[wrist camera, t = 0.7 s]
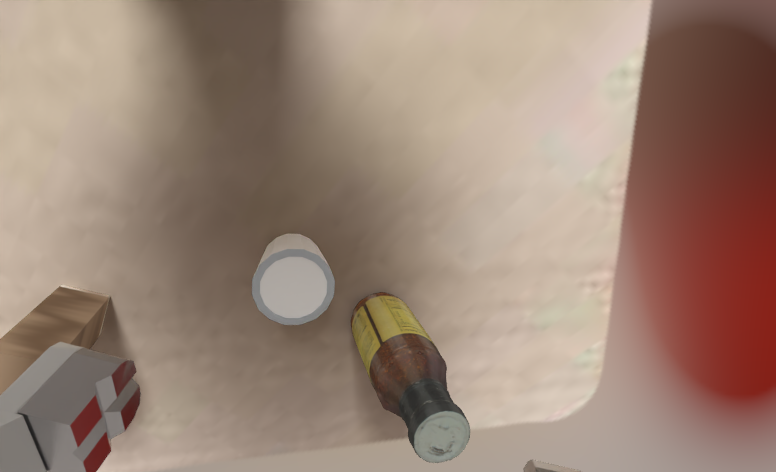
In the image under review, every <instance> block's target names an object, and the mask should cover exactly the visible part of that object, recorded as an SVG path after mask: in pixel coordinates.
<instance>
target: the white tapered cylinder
mask: <svg viewBox="0 0 776 472" xmlns="http://www.w3.org/2000/svg"><path fill="white" fill-rule="evenodd" d="M334 288H335V279H334V277H333V274H332V271H331V269H330V266H329V265H328V263H327V261H326V260H325V258H324V256H323V255H322V253H321V251H320V250H319V248H318V246H317V245H316V244H315V243H314V242H313V241H312V240H311V239H310V238H308V237H305V236H303V235H301V234H288V233H287V234H285V235H282V236H279V237H276V238H275V239H274V240H273V241H272V242H271V243H269V244H268V245H267V247H266V250H265V252H264V254H263V256H262V258H261V261H260V263H259V265H258V267H257V270H256V272H255V274H254V277H253V279H252V296H253V299H254V301H255V303H256V305H257V308H258V309H259V310H260V311H261V312H262V313H263V314H264V315H265V316H266V317H267V318H268V319H270V320H272V321H275V322H278V323H280V324H283V325H301V324H304V323H307V322H309V321H312V320H315V319H316V318H317V317H318V316H320V315H321V314H322V313H323V312H324V311H325V310H327V308H328V306H329V304H330V302H331V300H332V298H333V296H334Z"/></svg>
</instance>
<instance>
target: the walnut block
mask: <svg viewBox="0 0 776 472" xmlns="http://www.w3.org/2000/svg"><path fill="white" fill-rule="evenodd" d="M109 299H110V295H105V294H101V293H96V292H92V291H87V290H83V289H79V288H74V287H70V286H65V285H61V286H60V287H59V288H58V289H56V290H55V291H54V292H53V293H52V294H51V295H50V296H48V297H47V298H46V299H45V300H44V301H43V302H42V303H41V304H39V305H38V306H37V307H36V308H35V309H34V310H33V311H32V312H30V313H29V314H28V315H27V316H26V317H25V318H24V319H22V320H21V321H20V322H19V323H18V324H17V325H16V326H15V327H13V328H12V329H11V330H10V331H9V332H8V333H7V334H5V335H4V336H3V337H2V338H1V339H0V395H1V394H2V393H3V392H4V391H5V390H6V389H7V388H8V387H9V386H10V385H11V384H12V383H14V382H15V381H16V380H17V379H18V378H19V377H20V376H21V375H22V374H23V373H24V372H25V371H26V370H27V369H28V368H29V367H30V366H31V365H32V364H33V363H34V362H35V361H36V360H37V359H38V358H39V357H40V356H41V355H42V354H43V353H44V352H45V351H46V350H47V349H48V348H49V347H51V346H53V345H55V344H57V343H59V342H63V343H67V344H71V345H75V346H79V347H84V348H86V349H90V348H91V347H92V345H93V344H94V343H95V341H96V340H97V339H98V337H99V336H100V334H101V330H102V326H103V322H104V319H105V315H106V311H107V307H108V303H109Z"/></svg>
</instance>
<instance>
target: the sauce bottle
mask: <svg viewBox="0 0 776 472" xmlns="http://www.w3.org/2000/svg"><path fill="white" fill-rule="evenodd" d="M351 327H352V332H353V337H354V339H355V342H356V344H357V347H358V350H359V352H360V355H361V357H362V360H363V362H364V365H365V368H366V370H367V373H368V376H369V378H370V381H371V384H372V386H373V387H374V389H375V390H376V393H377V395H378V398H379V400H380V402H381V404H382V406H383V408H384V409H386V410H389V411H391V412H393V413H394V414H396V415H398V416H400V417H402V419H403V420H404V421H405V423H406V425H407V428H408V437H409V441H410V443H411V444H412V446H413V448H414V450H415V452H416V453H417V454H418V456H419V457H420V458H422V459H423V460H425V461H427V462H432V463H439V462H444V461H448V460H451V459H453V458H455V457H457V456H458V455H459V454H460V453H461V452H462V451H463V450H464V449H465V447H466V445H467V443H468V440H469V438H470V426H469V423H468V421H467V419H466V417H465V415H464V413H463V412H462V410H461V409H460V408H459V407H458V406H457V405H456V404H454V402H453V401H452V399H451V398H450V395H449V392H448V391H447V383H446V370H447V367H446V363H445V361H444V359H443V358H442V356H441V355H440V353H439V351H438V350H437V348H436V346H435V345H434V343H433V342H432V340H431V339H430V337H429V336H428V334H427V333H426V331H425V330H424V329H423V327H422V326H421V324H420V323H419V322H418V320H417V319H416V318H415V316H414V315H413V313H412V312H411V311H410V309H409V308H408V306H407V305H406V304H405V303H404V302H403V301H401V300H400V299H399V298H397V297H395V296H393V295H390V294H387V293H383V292H380V293H376V294H373V295H370V296H368V297H366V298H365V299H363V300H361V301H360V302H359V303H358V304H357V306H356V307H355V309H354V312H353V315H352V319H351Z"/></svg>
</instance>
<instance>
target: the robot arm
mask: <svg viewBox="0 0 776 472" xmlns="http://www.w3.org/2000/svg"><path fill="white" fill-rule="evenodd" d="M135 373H136V368H135V365H134V361H132V360H128V359H124V358H120V357H117V356H113V355H109V354H105V353H101V352H98V351H94V350H90V349H86V348H84V347H79V346H75V345H71V344H67V343H63V342H59V343H57V344H55V345H53V346H51V347H49V348H48V349H47V350H46V351H45V352H44V353H43V354H42V355H41V356H40V357H39V358H38V359H37V360H36V361H35V362H34V363H33V364H32V365H31V366H30V367H29V368H28V369H27V370H26V371H25V372H24V373H23V374H22V375H21V376H20V377H19V378H18V379H17V380H16V381H15V382H14V383H12V384H11V385H10V386H9V387H8V388H7V389H6V390H5V391H4V392H3V393H2V394H1V395H0V472H96V471H97V470H98V469H99V467H100V466H101V464H102V463H103V462H104V460H105V459H106V457H107V456H108V455H109V453H110V452H111V439H112V438H113V437H115V436H117V435H119V434H121V433H122V432H124V431H125V430H126V429H127V427H128V426H129V424H130V423H131V421H132V420H133V419H134V416H135V414H136V411H137V409H138V406H139V404H140V395H141V393H140V387H139V385H138V384H137V383H136V382H135V381H134V380H133V379H132V377H133V376H134V374H135ZM524 472H581V471H579V470H575V469H570V468H566V467H562V466H558V465H554V464H549V463H544V462H541V461H536V460H530V461H528V462H527V464H526V465H525V467H524Z"/></svg>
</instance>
